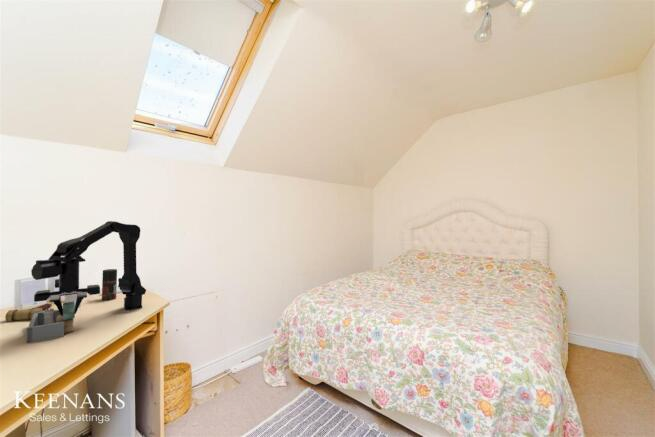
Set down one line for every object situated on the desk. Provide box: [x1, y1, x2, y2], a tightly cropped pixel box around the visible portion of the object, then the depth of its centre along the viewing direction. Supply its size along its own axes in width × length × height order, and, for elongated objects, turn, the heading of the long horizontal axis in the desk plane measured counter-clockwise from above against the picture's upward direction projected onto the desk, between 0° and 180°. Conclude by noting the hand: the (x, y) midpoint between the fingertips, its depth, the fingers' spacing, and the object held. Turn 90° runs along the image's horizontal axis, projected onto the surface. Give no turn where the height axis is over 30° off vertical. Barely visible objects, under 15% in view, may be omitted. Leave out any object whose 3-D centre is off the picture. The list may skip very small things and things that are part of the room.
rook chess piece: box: [43, 308, 55, 325], centre depth 108 cm, size 4×4×8 cm
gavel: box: [4, 302, 53, 322], centre depth 126 cm, size 21×5×10 cm
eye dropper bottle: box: [64, 294, 82, 308], centre depth 135 cm, size 4×6×12 cm
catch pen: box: [26, 309, 65, 344], centre depth 108 cm, size 9×19×5 cm, turn 41°
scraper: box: [56, 301, 76, 334], centre depth 111 cm, size 5×14×9 cm, turn 40°
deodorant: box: [101, 268, 118, 302], centre depth 150 cm, size 6×6×15 cm
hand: (68, 314), depth 112 cm, fingers open, 3 cm apart
